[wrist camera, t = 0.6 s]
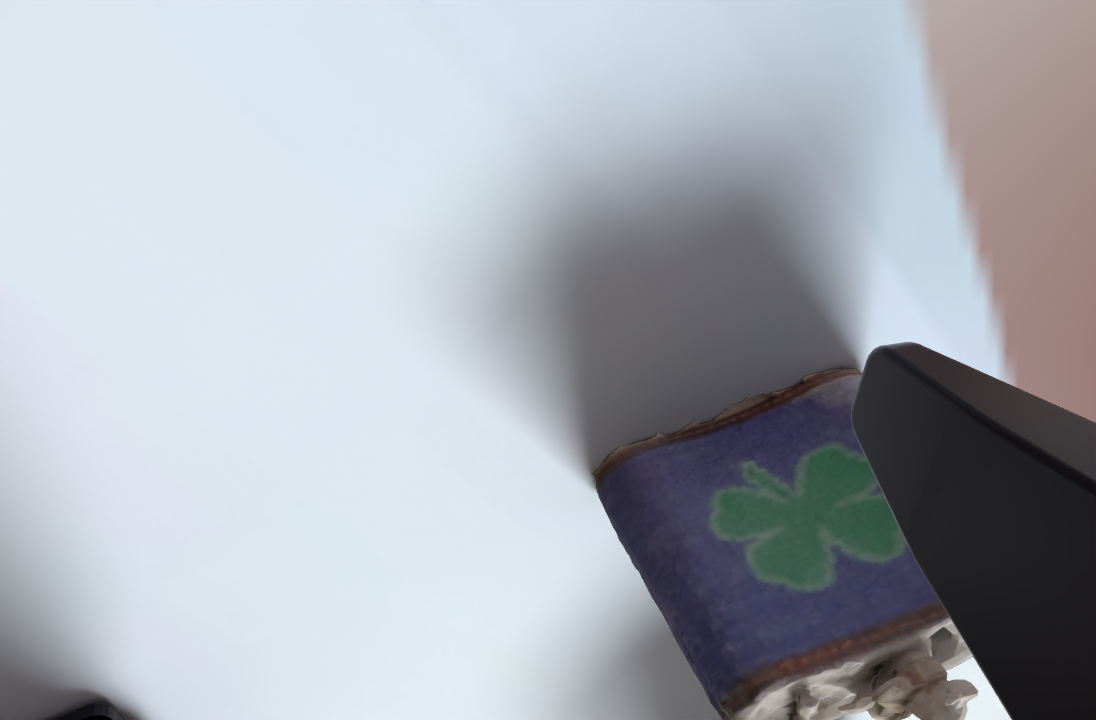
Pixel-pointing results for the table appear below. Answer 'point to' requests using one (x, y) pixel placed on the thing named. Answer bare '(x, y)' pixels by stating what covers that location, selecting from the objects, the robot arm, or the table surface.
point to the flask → (785, 563)
